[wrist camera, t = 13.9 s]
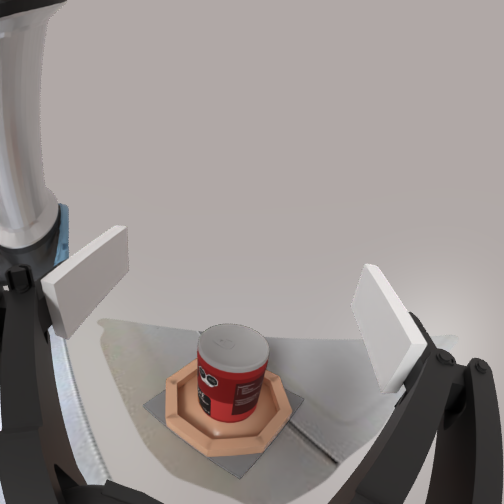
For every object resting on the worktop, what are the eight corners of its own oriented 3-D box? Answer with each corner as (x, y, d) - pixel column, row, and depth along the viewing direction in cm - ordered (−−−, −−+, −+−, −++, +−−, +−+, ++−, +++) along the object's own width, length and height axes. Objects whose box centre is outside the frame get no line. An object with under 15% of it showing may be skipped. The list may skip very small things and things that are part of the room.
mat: (143, 406, 32) (142, 405, 32) (217, 353, 44) (217, 351, 44) (240, 479, 24) (240, 478, 24) (303, 400, 37) (304, 398, 37)
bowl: (142, 405, 32) (140, 396, 31) (217, 351, 44) (217, 342, 44) (240, 478, 24) (242, 472, 23) (304, 398, 37) (307, 390, 36)
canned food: (202, 378, 38) (204, 318, 34) (257, 385, 38) (270, 327, 34) (192, 419, 31) (190, 361, 26) (255, 428, 31) (270, 372, 26)
